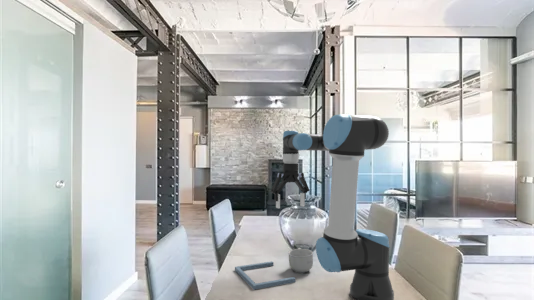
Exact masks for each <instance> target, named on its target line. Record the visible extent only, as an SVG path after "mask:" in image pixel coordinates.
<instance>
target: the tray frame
mask: <svg viewBox="0 0 534 300" xmlns="http://www.w3.org/2000/svg"><path fill="white" fill-rule="evenodd" d="M274 264H275V263H274V261H272V260H271V261H265V262H259V263H251V264H244V265H238V266H234V271H235V272H236V273H237V275H239V276H240V277H241V278H242V279H243V281H244V282H246V284H248V286H250V288H251V289H252V290H253V291H254V290H260V289H265V288H271V287H276V286H282V285H287V284H288V285H289V284H292V283H296V277H294V276H292V277H285V278H281V279H274V280H268V281H263V282H258V283H256V282H255V281H254V280H253V279H252V278H251V277H250V276H249V274H247V273H246V272H245V271H247V270H255V269H261V268H262V269H263V268H267V267H273V266H274Z"/></svg>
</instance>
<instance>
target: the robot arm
mask: <svg viewBox="0 0 534 300" xmlns="http://www.w3.org/2000/svg"><path fill="white" fill-rule="evenodd" d="M389 132H390V131H389V128H388V125H387V124H386V122H385V121H384V120H383V119H382V118H379V117H378V116H373V115H359V114H349V113H348V114H347V113H343V114H334V115H333V116H331V117H330V118H329V119H328V121H326V123H325V126H324V129H323V134H320V133H319V134H316V133H315V134H314V133H305V132H303V133H302V132H299V131H297V130H285V131H283V134H282V162H283V164H282V173H281V172H277V173H276V179H275V180H274V183H273V185H272V187H271V189H270V193H271V194H274V196H273V197H274V202H275V208H276V209H281V194H280V192H281V191H282V190H283V189H284V187H285V186H286V185H287V183H294V184H295V185H296V186H297V188H298V189H299V190H300V193H299V196H300V199H299V200H300V201H299V203H300V204H299V206H300V207H305V200H306V199H307V194H308V192H310V188H309V186H308V183H307V181H306V178H305V173H304V172H299V161H300V157H299V156H300V155H299V153H300V152H299V151H315V152H316V151H323V152H324V151H325V152H326V151H327V152H328V154H329V155H330V157H331V158H332V167H331V168H332V169H331V184H330V199H329V211H328V226H326V227H325V228H323V231H322V232H323V233H322V234H323V235H322V236H321V237H318V239H317V240H316V242H315V252H316V257H317V260H318V262H319V264H320V266H321V267H322V268H323V270H324V271H326V273H327V272H328V273H341V272H348V271H353V270H354V274H353V277H352V282H351V284H350V286H349V294H350V296H351V297H352V298H353V299H355V300H395V291H394V289H393V287H392V282H391V279H390V275H389V273H390V272H389V271H390V270H389V269H390V267H389V266H390V248H391V247H390V242H389V240H390V239H389V237H388V235H387V234H385V233H383V232H381V231H380V232H379V231H376V230H371V229H364V228H357V229H355V228H354V227H355V215H356V205H357V204H356V202H357V191H358V190H357V189H358V181H359V180H358V178H359V177H358V176H359V166H360V165H359V164H360V160H361V159H362V158H364V157H365V151H366V150H367V151H369V150H376V149H379V148H381V147H382V146H384V145H385V144H386V143H387V140H388V139H389V134H390V133H389Z"/></svg>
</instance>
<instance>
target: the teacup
mask: <svg viewBox="0 0 534 300" xmlns="http://www.w3.org/2000/svg"><path fill="white" fill-rule="evenodd" d="M287 254H288V264H289V267H290V268H291V270H293V272H296V273H307V272H309V271H310V270H311V269H312V268H313V266H314V252H313V250H310V249H308V248H301V247H298V248H296V249H292V250H290V251H288V253H287Z"/></svg>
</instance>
